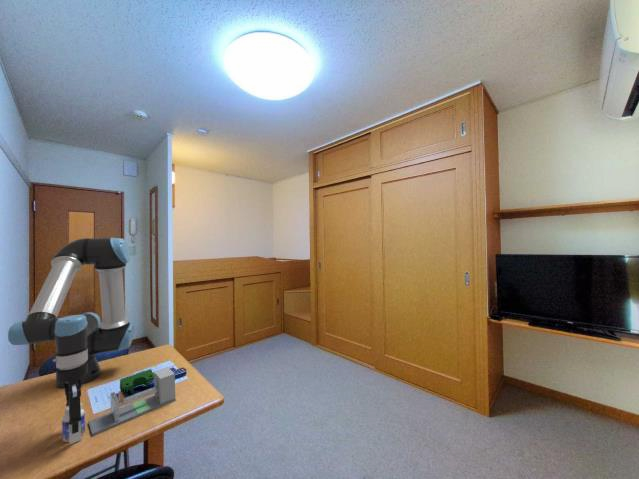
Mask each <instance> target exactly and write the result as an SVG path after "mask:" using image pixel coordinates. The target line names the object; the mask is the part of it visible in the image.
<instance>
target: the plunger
mask: <svg viewBox="0 0 639 479" xmlns="http://www.w3.org/2000/svg"><path fill="white" fill-rule="evenodd" d="M157 392H159V387H158V386H156V387H151V388H147V389H145V390H143V391H140V392H138V393H135V394H131V395H130V396H127V397H125V396H124V393H122V392H121V390H120V391H119V390H118V396H117V394H116V392H115V391H112V392H111V393H110V412H111V414H112V416H113V419H114V421H118V420H119V409H120V407H123V406H127V405H128V404H130V403H131V404H132V403H134V402H135V401H136V402H137V401H139V400H142V399H143V398H144V399H145V398H147V397H148V396H149V397H150V396H152V395H155V393H157Z"/></svg>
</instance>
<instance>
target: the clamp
mask: <svg viewBox="0 0 639 479" xmlns="http://www.w3.org/2000/svg"><path fill="white" fill-rule="evenodd" d="M150 381H151V382H152V381H154V371H153V370H152V368H150V369H146V370H143V371H141V372H138V373H134V374H132V375H128V376H126V377H123V378H120V379H119V390H120V391H121V393H122V394H125V393H127V392H128V391H127V390H128V389H130V390H131V392H133V393H134V390H135V389H134V387H135V386H137V385H141V384H145V385H146V386H147V387H148V385H149V384H148V382H150ZM151 382H150V383H151ZM133 389H134V390H133ZM126 391H127V392H126ZM131 392H130V393H131Z"/></svg>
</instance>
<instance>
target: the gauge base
mask: <svg viewBox="0 0 639 479" xmlns="http://www.w3.org/2000/svg"><path fill="white" fill-rule="evenodd" d="M153 374H154V380H153V382H154V384H153V385H154V387H156V386H158V387H159V392H157V393H154V394H153V395H150V396H149V397H148V396H147V397H145V398H144V399H143V398H142V399H139V400H137V401H136V402H135V401H134V402H132V403H131V404H129V405H128V404H127V405H124V407H123V406H122V407H121V408H120V407H119V420H118V421H114V419H113V416H112V414H111V411H110V412H107V413H104V414H103V415H99V416H97V417H95V418H93V419H89V420H88V425H89V429H90V432H91V436H92V437H94V436H96V435H98V434H101V433H103V432H105V431H108V430H110V429H113V428H115V427H117V426H120V425H122V424H124V423H126V422H129V421H131V420H133V419H136V418H138V417H141V416H143V415H145V414H148V413H150V412H152V411H155V410H157V409H159V408H162V407H164V406H166V405H169V404H171V403H174V402H176V400H177V399H176V377H175V376H176V374H175V372H174V371H172V369H170V368H169V367H168V366H167V367H165V368H162V369H158V370H156V371H153Z"/></svg>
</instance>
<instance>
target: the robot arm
mask: <svg viewBox="0 0 639 479" xmlns="http://www.w3.org/2000/svg"><path fill="white" fill-rule="evenodd" d="M130 256H131V251H130V247H129V245H128V243H127V241H126V240H125V239H124V238H119V237H118V238H117V237H100V238H99V237H95V238H88V237H87V238H79V239H76V240H73V241H71V242H69V243H67V244H65V245H64V246H63V247H61V248H60V249H59V250H58V251H57V252H56V253H55V254H54V256H53V257H52V259H51V261H50V265H51V268H50V271H49V273H48V275H47V277H46V278H45V280H44V283H43V285H42V287H41V289H40V291H39V293H38V295H37V297H36V299H35V301H34V302H33V303H34V304H33V305H32V307H31V308H30V311H29V313H28V315H27V317H26V318H25V319H24V321H23V320H22V321H17V322H15V323H13V324H12V325H11V326H10V327H9V330H8V332H7V340H8V342H9V343H10V344H11V345H13V346H24V345H25V346H26V345H32V344H39V343H46V342H53V341H54V342H55V344H54V345H55V358H54V359H52V362H53V363H55V366H56V367H55V368H56V371H55V378H56V379H55V380H56V381H55V383H56V384H55V385H56V387H57V388H59V389H60V388H61V389H64V393H65V397H66V399H65V400H66V404H65V406H66V407H68V406H69V422H68V423H66V426H67V425H69V442H68V444H69V445H72V444H75V443H76V442H79V441H81V440H82V436H81V419H82V418H81V405H80V403H81V397H82V385H84V384H86V383H89V382H93V381H94V380H95V379H97V378H98V377H99V376H100V375H101V373H102V372H101V371H102V368H101V366H100V364H99V362H98V360H97V358H96V355H97V354H98V355H99V354H104V353H105V354H106V353H109V352H116V351H117V352H119V351H122V350H127V349H129V348H130V346H131V344H132V342H133V338H134V334H135V333H134V331H135V324H134V323H130V319H129V318H127V317H126V311H125V310H126V308H125V295H124V294H125V291H124V278H123V277H124V275H123V269H125V268H126V267H127V264H128V263H129V262H130V260H131V257H130ZM84 265H93V270H95V271H96V272H98V277H99V279H98V280H99V291H100V292H99V293H100V305H101V317H102V318H101V317H100V316H99V315H98V313H95V312H91V311H90V312H84V313H82V314H74V315H67V316H63V317H58V316H59V313H60V311H61V309H62V307H63V304H64V302H65V300H66V297H67V294H68V292H69V289H70V288H71V285H72V282H73V280H74V278H75V275H76V273H77V272H78V271H80V270H81V269H82V266H84ZM101 320H102V321H101Z"/></svg>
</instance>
